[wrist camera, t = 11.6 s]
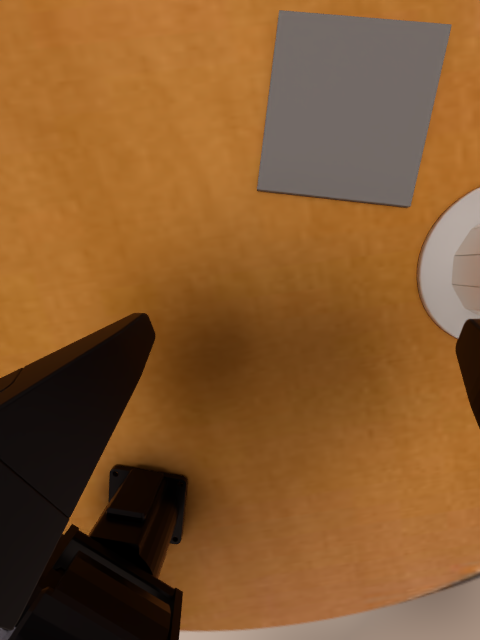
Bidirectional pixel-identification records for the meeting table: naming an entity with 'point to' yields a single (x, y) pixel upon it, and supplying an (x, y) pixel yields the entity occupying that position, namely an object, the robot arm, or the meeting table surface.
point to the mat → (350, 106)
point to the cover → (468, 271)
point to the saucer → (446, 264)
